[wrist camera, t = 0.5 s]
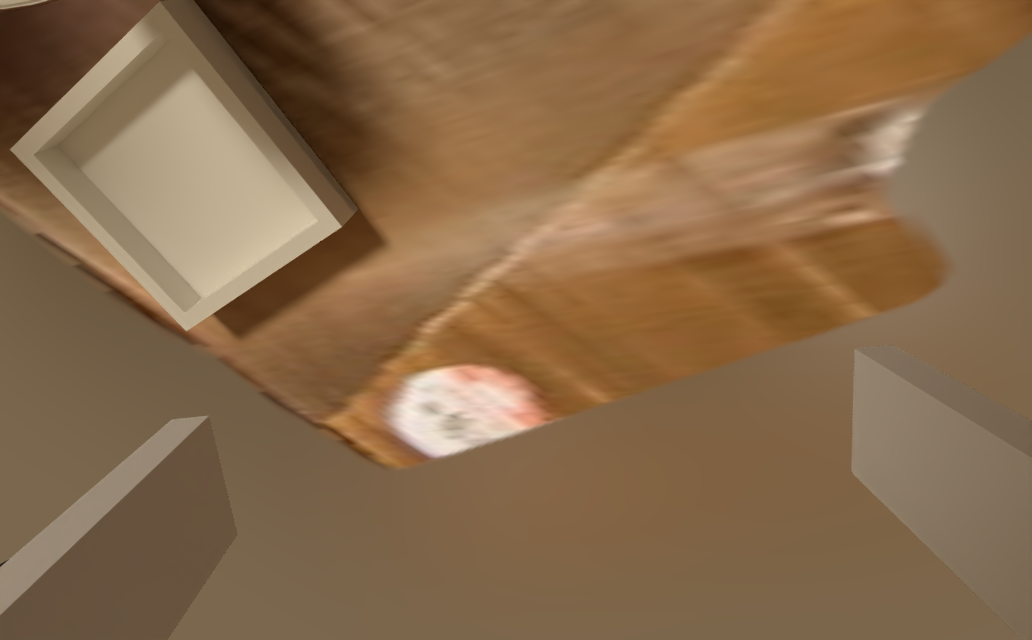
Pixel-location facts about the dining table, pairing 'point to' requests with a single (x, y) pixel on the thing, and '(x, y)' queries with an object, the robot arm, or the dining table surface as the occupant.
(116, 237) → the dish
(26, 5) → the beer glass
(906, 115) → the dining table surface
